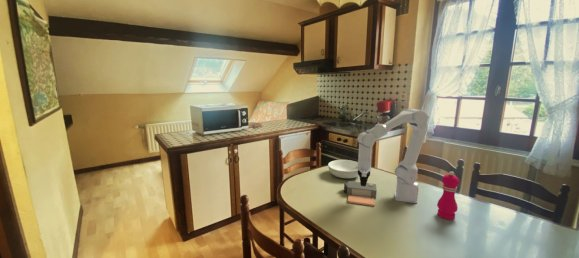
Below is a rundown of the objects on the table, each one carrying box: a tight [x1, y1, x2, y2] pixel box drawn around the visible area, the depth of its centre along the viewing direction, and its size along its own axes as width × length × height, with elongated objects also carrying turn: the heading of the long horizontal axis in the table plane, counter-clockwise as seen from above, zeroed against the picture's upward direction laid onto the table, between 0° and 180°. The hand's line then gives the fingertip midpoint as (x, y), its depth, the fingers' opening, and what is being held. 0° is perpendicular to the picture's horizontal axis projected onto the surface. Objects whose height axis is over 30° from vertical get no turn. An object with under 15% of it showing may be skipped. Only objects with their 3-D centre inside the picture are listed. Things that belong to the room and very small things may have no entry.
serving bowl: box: [327, 159, 359, 179], centre depth 147 cm, size 21×21×7 cm
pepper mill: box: [436, 171, 460, 221], centre depth 101 cm, size 7×7×20 cm
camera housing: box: [343, 180, 378, 200], centre depth 123 cm, size 16×8×5 cm, turn 73°
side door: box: [347, 195, 376, 207], centre depth 115 cm, size 12×1×7 cm
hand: (363, 185), depth 114 cm, fingers closed
